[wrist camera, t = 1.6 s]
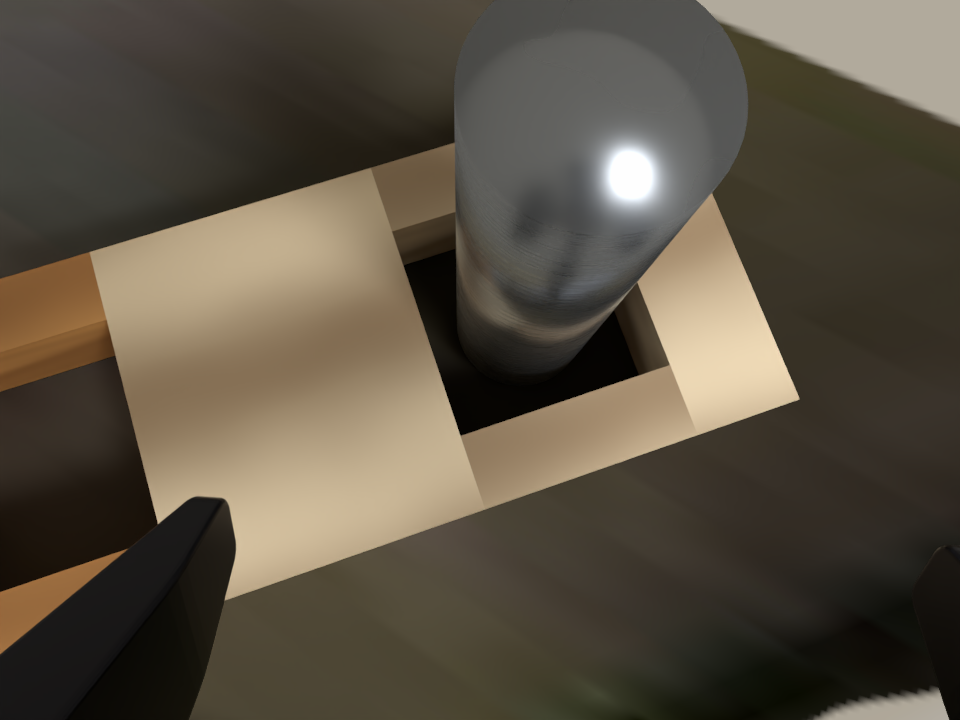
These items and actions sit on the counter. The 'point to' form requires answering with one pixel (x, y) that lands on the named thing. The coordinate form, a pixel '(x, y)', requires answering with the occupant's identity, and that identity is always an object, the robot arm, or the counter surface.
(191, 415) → the rail board
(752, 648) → the counter surface
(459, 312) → the steel peg
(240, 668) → the counter surface
